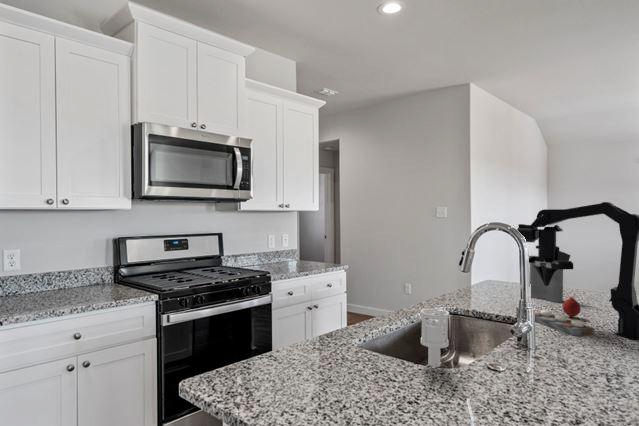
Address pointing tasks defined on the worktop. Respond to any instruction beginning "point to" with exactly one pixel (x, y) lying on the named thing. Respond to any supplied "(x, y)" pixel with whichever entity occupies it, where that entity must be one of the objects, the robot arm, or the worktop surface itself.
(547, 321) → the button board
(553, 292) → the flask
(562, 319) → the middle button
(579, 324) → the near button
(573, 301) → the onion
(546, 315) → the far button
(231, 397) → the worktop surface
